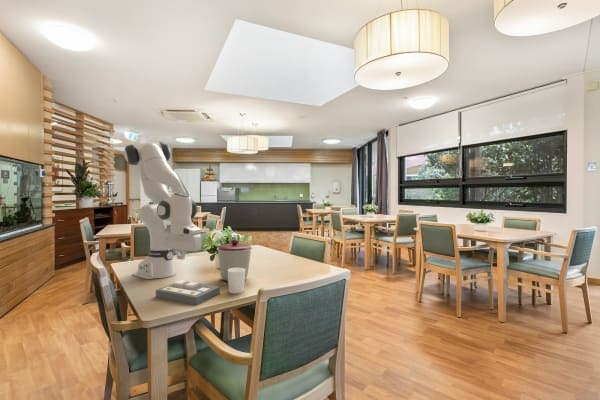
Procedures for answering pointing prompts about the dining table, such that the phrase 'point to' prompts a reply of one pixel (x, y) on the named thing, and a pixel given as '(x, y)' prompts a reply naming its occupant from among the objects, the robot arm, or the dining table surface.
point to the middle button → (191, 285)
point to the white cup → (236, 280)
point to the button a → (180, 283)
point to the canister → (233, 257)
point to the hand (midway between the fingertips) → (180, 259)
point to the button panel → (188, 293)
